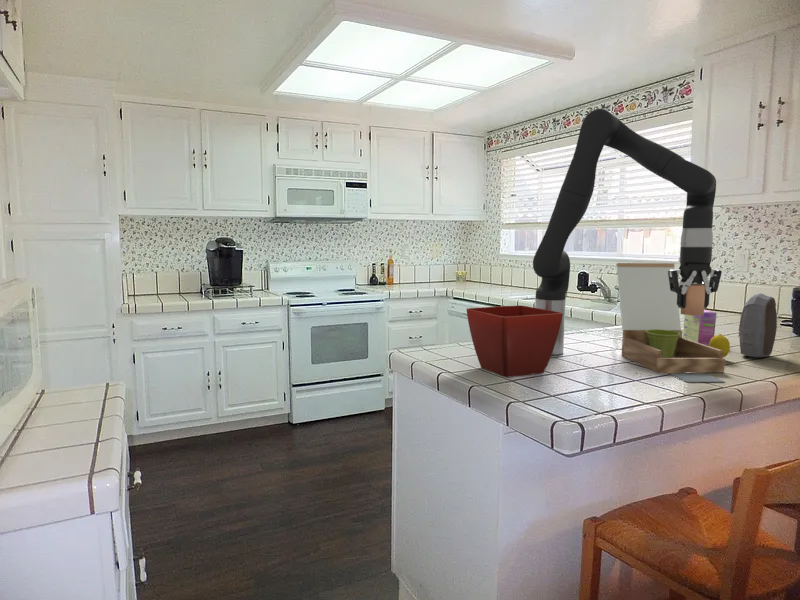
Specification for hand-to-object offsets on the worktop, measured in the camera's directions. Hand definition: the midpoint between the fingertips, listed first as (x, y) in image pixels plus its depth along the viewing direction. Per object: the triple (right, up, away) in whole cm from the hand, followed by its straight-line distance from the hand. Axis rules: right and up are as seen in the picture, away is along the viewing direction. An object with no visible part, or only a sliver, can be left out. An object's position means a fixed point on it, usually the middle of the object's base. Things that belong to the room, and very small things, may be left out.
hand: (692, 307), depth 147 cm
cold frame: (0, -17, +12) cm, 21 cm away
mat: (-2, -19, -5) cm, 19 cm away
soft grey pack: (+32, -16, +24) cm, 43 cm away
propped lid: (-1, -15, +29) cm, 32 cm away
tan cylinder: (0, -2, 0) cm, 2 cm away
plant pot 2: (-1, -16, +16) cm, 23 cm away
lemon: (+17, -16, +18) cm, 30 cm away
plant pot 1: (-49, -18, +2) cm, 52 cm away
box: (+26, -13, +45) cm, 54 cm away
